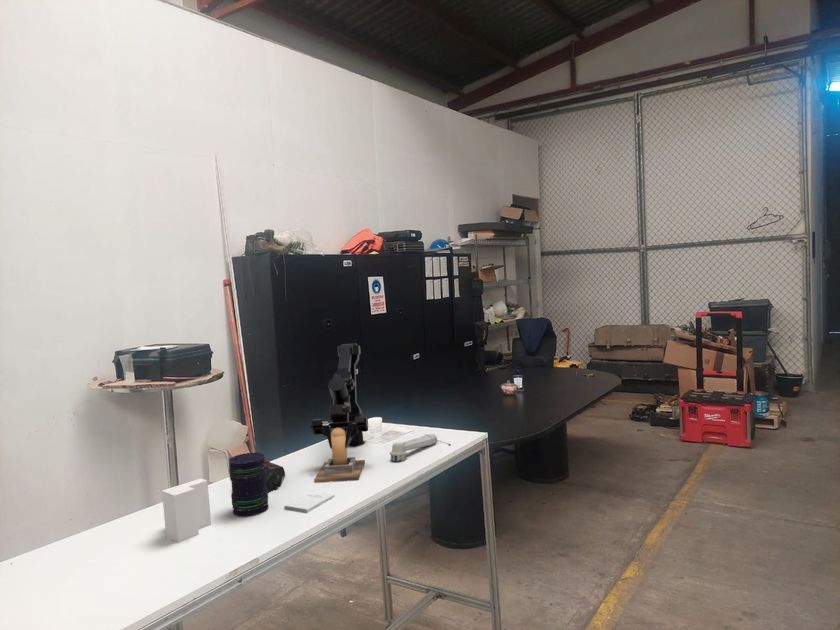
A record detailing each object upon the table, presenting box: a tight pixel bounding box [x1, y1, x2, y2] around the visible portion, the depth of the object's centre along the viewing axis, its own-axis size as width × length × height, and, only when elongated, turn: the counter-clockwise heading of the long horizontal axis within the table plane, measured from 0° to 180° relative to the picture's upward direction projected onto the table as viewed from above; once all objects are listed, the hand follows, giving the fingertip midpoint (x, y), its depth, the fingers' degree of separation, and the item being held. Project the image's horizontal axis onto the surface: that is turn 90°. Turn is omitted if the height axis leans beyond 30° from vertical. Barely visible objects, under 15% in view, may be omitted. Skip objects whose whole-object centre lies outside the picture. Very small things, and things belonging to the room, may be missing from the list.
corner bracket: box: [161, 478, 212, 544], centre depth 153 cm, size 11×11×12 cm
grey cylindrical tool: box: [389, 433, 438, 462], centre depth 210 cm, size 5×7×25 cm
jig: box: [314, 457, 366, 483], centre depth 193 cm, size 18×14×3 cm
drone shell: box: [264, 458, 286, 494], centre depth 187 cm, size 21×20×8 cm
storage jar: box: [228, 452, 269, 518], centre depth 164 cm, size 10×10×15 cm
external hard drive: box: [283, 490, 335, 514], centre depth 166 cm, size 2×8×12 cm
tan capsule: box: [331, 427, 348, 465], centre depth 192 cm, size 5×5×13 cm
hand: (338, 447), depth 191 cm, fingers closed on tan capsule, 5 cm apart
